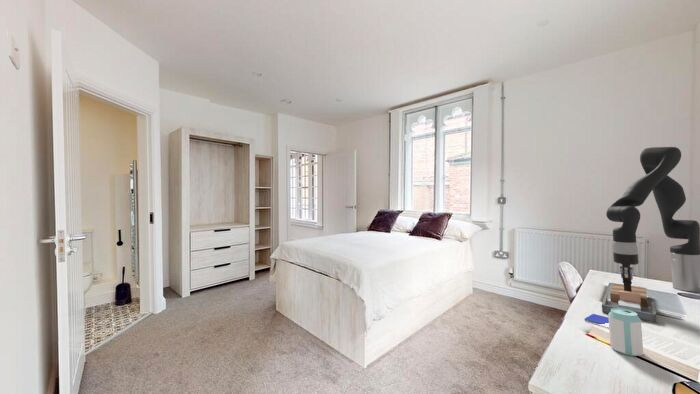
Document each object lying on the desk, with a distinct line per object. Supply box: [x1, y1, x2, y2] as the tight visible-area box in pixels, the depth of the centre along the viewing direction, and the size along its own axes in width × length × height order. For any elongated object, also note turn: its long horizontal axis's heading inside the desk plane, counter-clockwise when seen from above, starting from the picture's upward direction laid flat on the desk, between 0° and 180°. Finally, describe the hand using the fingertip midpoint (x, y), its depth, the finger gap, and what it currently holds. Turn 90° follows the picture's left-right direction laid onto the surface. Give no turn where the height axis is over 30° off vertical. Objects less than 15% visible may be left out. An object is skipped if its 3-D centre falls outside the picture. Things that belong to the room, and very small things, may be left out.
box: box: [601, 294, 658, 324], centre depth 109 cm, size 16×15×3 cm
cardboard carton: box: [609, 282, 649, 308], centre depth 121 cm, size 18×11×4 cm, turn 133°
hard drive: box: [584, 313, 609, 326], centre depth 99 cm, size 2×8×12 cm
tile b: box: [619, 301, 641, 311], centre depth 108 cm, size 6×6×2 cm
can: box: [607, 308, 644, 357], centre depth 82 cm, size 7×7×12 cm
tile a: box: [619, 290, 641, 307], centre depth 112 cm, size 6×6×2 cm
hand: (627, 292), depth 116 cm, fingers closed
